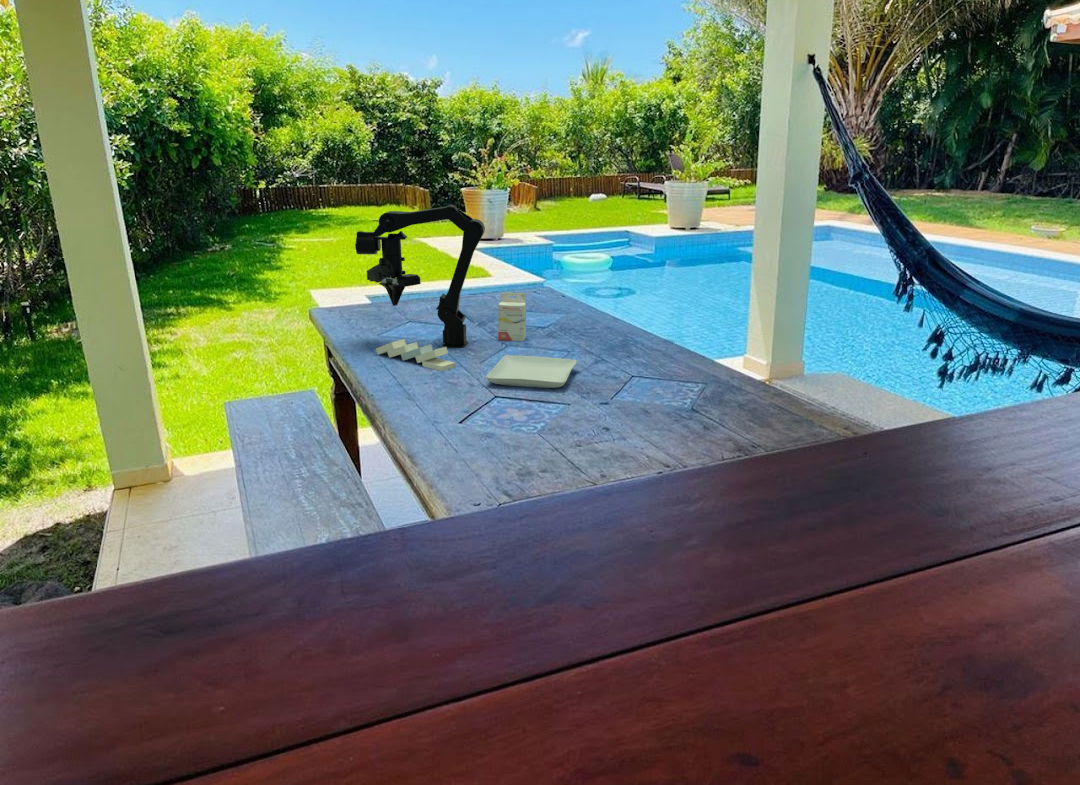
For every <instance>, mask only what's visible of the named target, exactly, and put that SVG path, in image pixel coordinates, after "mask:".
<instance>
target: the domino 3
mask: <svg viewBox="0 0 1080 785" xmlns="http://www.w3.org/2000/svg"><path fill="white" fill-rule="evenodd" d="M432 350H434V349H433V345H432V343H431V344H428V345H424V346H421V347H418V348H417V349H414V350H411V351H409V352H406V353H403V354H401V355H400V356H401V360H402V361H406V360H411V359H413V358H415V357H416V356H418V355H421V354H424V353H427V352H430V351H432Z"/></svg>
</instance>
